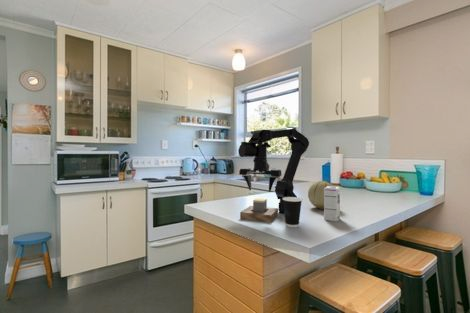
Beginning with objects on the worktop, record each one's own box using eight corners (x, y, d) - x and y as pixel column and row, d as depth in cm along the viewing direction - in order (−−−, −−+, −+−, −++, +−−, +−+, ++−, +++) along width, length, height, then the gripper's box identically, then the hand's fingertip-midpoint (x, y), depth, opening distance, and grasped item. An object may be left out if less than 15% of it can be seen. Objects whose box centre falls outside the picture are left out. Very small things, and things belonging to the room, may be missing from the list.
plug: (266, 216, 118) (266, 199, 118) (263, 218, 113) (263, 201, 113) (256, 215, 120) (256, 198, 119) (253, 217, 115) (253, 200, 115)
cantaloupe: (308, 210, 129) (308, 181, 129) (307, 204, 143) (307, 178, 143) (339, 212, 126) (339, 182, 125) (334, 206, 140) (335, 179, 140)
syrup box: (337, 221, 109) (338, 188, 109) (323, 219, 112) (324, 187, 112) (339, 218, 114) (340, 186, 114) (326, 216, 117) (326, 185, 117)
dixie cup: (303, 224, 105) (303, 197, 105) (300, 229, 98) (300, 201, 98) (284, 221, 108) (285, 196, 108) (280, 226, 101) (280, 199, 101)
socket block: (277, 214, 120) (278, 208, 120) (270, 222, 107) (271, 215, 107) (250, 211, 125) (250, 205, 125) (240, 218, 112) (240, 212, 112)
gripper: (284, 157, 120) (283, 189, 120) (246, 156, 127) (246, 187, 127) (279, 157, 109) (278, 193, 110) (239, 156, 116) (238, 190, 117)
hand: (259, 190), depth 116 cm, fingers open, 9 cm apart
